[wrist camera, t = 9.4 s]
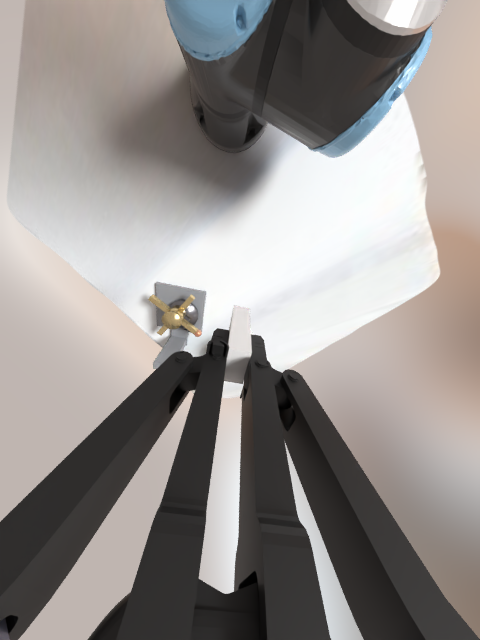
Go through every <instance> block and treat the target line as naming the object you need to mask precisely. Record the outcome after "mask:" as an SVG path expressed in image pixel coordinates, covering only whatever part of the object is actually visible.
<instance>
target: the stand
mask: <svg viewBox="0 0 480 640" xmlns="http://www.w3.org/2000/svg"><path fill="white" fill-rule="evenodd" d="M191 294H192V295H193V296H194V297H195V299H194V300H193V301H192V302H191V303H192V304H194V305H195V307H196V308H197V310H198V313H199V317H198V320H197V322H196V324H195V325H194V326H195V327H196V328H197V329H199V330H201V332H202V325H203V316H204V307H205V298H206V291H201V290H195V289H190V288H185V287H180V286H175V285H170V284H165V283H160V282H157V283H156V297H157V298H159V299H160V300H161V301H163V302H164V303H165V304H166V305H168V306H170V305H171V304H172V303H173V302H174V301H176V300H187V298H188V297H189V296H190V295H191ZM164 313H165V312H164V311H162V310H161V309H160V308H159V307H157V326H163V323H162V316H163V315H164ZM188 331H189V330H188V329H186V328H178V329H171V337H170V338H169V340H168V341H167V343H166V344H165V346H164V347H163V349H162V350H161V352H160V353H159V355H158V357H157V358H156V359H155V361H154V362H153V368H154V369H157V368H158V367H159V366H160V365H161V364H162V363H163V362H164V361H165V360H166V359H167V358H168V357H169V356H170V355H172V354H173V353H175V352H178V351H183V349H184V347H185V346H186V345H187V336H188Z"/></svg>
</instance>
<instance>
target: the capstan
mask: <svg viewBox="0 0 480 640" xmlns="http://www.w3.org/2000/svg"><path fill="white" fill-rule="evenodd" d="M194 299H195V297H194V296H193V295H192V294H191V295H190V296H189V297H188V298H187V300H176V301H174V302H173V303H172V304H171V305H170V306H168V305H166V304H165V303H164V302H163V301H161V300H160V299H159V298H157V297H156V296H155V295H154V294H153V295H152V296H151V297H150V298H149V299H148V300H149V301H151V302H152V303H153V304H155V305H156V306H157V307H159V308H160V309H161V310H162V311H164V312H165V313H164V315H163V316H162V323H163V326H162V328H161V329H160V330H159V331H158V332H157V333H158V334H160V335H162V334H163V333H164V332H165V331H166V330H167V329H168V328H169V329H178V328H186V329H188V330H189V331H190V332H192V333H193V334H194V335H195V336H196V337H199V336H201V334H202V332H201V330H199V329H197V328H196V327H195V326H194V325H195V324H196V322H197V320H198V317H199V313H198V310H197V308H196V307H195V305H194V304H192V303H191V302H192V301H193V300H194Z"/></svg>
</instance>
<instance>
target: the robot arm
mask: <svg viewBox="0 0 480 640" xmlns="http://www.w3.org/2000/svg"><path fill="white" fill-rule="evenodd" d="M164 1H165V6H166V11H167V15H168V18H169V20H170V24H171V28H172V30H173V32H174V35H175V37H176V39H177V41H178V44H179V46H180V49H181V52H182V54H183V57H184V59H185V62H186V64H187V67H188V70H189V72H190V75H191V76H190V92H191V100H192V105H193V109H194V113H195V115H196V118H197V121H198V123H199V125H200V127H201V129H202V131H203V133H204V134H205V136H206V137H207V138H208V139H209V141H210V142H211V143H212V144H214V145H215V146H216V147H218V148H220V149H221V150H224V151H228V152H239V151H243V150H245V149H247V148H249V147H251V146H252V145H253V144H254V143H255V142H256V141H257V140H258V139H259V138H260V137H261V135H262V134H263V132H264V130H265V128H266V126H267V124H268V123H270V124H272V125H273V126H275V127H276V128H278V129H280V130H281V131H283V132H285V133H286V134H288V135H290V136H291V137H293V138H295V139H296V140H298V141H299V142H301V143H303V144H304V145H306V146H307V147H308V148H309V149H310V150H313V151H318V152H320V153H322V154H324V155H326V156H328V157H332V158H335V157H339V156H342V155H344V154H346V153H347V152H349V151H350V150H352V149H353V148H354V147H355V146H357V145H358V144H359V143H360V142H361V141H362V140H363V139H364V138H365V137H366V136H367V135H368V134H369V133H370V132H371V131H372V130H373V129H374V128H375V127H376V126H377V125H378V124H379V122H380V121H381V120H382V119H383V118H384V117H385V115H386V114H387V113H388V112H389V110H390V109H391V106H392V104H393V102H394V101H395V100H396V99H397V98H398V97H399V96H400V95H401V94H402V93H403V92H404V90H405V89H406V87H407V86H408V84H409V83H410V81H411V80H412V78H413V77H414V75H415V74H416V72H417V70H418V69H419V67H420V65H421V63H422V61H423V60H424V57H425V55H426V53H427V51H428V48H429V45H430V42H431V38H432V31H431V25H432V24H433V22H434V21H435V20H436V19H437V17H438V15H439V14H440V13H441V11H442V10H443V8H444V7H445V4H446V2H447V0H164ZM224 381H228V382H234V383H240V384H243V381H244V386H243V389H242V392H241V396H240V398H242V421H241V462H240V464H241V465H240V502H239V538H238V546H237V553H236V561H235V581H234V592H232V593H230V594H224V593H222V592H220V591H218V590H216V589H215V588H213V587H211V586H210V585H208V584H206V583H205V582H203V581H201V580H200V579H198V577H199V570H200V563H201V555H202V548H203V540H204V532H205V524H206V509H207V500H208V493H209V486H210V478H211V471H212V464H213V456H214V449H215V442H216V435H217V427H218V420H219V413H220V405H221V398H222V391H223V383H224ZM192 390H195V393H194V396H193V399H192V403H191V406H190V409H189V413H188V416H187V419H186V423H185V426H184V429H183V432H182V436H181V439H180V442H179V446H178V449H177V452H176V456H175V459H174V463H173V466H172V469H171V472H170V476H169V479H168V482H167V485H166V489H165V492H164V495H163V499H162V502H161V504H160V507H159V508H158V511H157V513H156V515H155V518H154V520H153V523H152V526H151V530H150V533H149V536H148V539H147V542H146V545H145V549H144V552H143V555H142V559H141V562H140V565H139V568H138V571H137V575H136V578H135V581H134V584H133V588H132V591H131V593H129V594H128V595H127V596H125V597H124V598H123V599H122V600H121V601H120V602H119V603H118V604H117V605H116V606H115V607H114V608H113V609H112V610H111V611H110V612H109V613H108V615H107V616H106V617H105V618H104V619H103V620H102V622H101V623H100V624H99V626H98V627H97V628H96V629H95V631H94V632H93V633H92V635H91V636H90V637H89V639H88V640H331V638H330V635H329V630H328V625H327V621H326V615H325V610H324V605H323V600H322V595H321V591H320V586H319V581H318V576H317V571H316V566H315V561H314V556H313V551H312V547H311V543H310V539H309V536H308V534H307V531H306V529H305V528H304V526H303V525H302V524H301V523H300V521H299V518H298V515H297V511H296V505H295V499H294V494H293V489H292V482H291V476H290V471H289V465H288V460H287V454H286V448H285V443H286V445H287V448H288V450H289V453H290V456H291V458H292V461H293V464H294V466H295V469H296V471H297V474H298V476H299V479H300V481H301V484H302V487H303V489H304V492H305V494H306V497H307V500H308V502H309V505H310V507H311V510H312V513H313V515H314V518H315V520H316V523H317V526H318V528H319V530H320V533H321V536H322V538H323V541H324V544H325V546H326V549H327V552H328V554H329V557H330V559H331V562H332V564H333V567H334V570H335V572H336V575H337V577H338V580H339V582H340V585H341V588H342V590H343V593H344V595H345V598H346V600H347V603H348V605H349V607H350V610H351V612H352V615H353V617H354V619H355V622H356V624H357V626H358V628H359V630H360V632H361V634H362V637H363V639H364V640H480V639H479V638H478V637H477V635H476V634H475V633H474V632H473V631H472V629H471V628H470V627H469V626H468V625H467V623H466V622H465V621H464V620H463V619H462V618H461V616H460V615H459V614H458V613H457V611H456V610H455V609H454V608H453V607H452V605H451V604H450V603H449V602H448V601H447V599H446V598H445V597H444V595H443V594H442V592H441V591H440V589H439V587H438V586H437V584H436V583H435V581H434V580H433V578H432V577H431V575H430V574H429V572H428V570H427V569H426V567H425V566H424V564H423V563H422V561H421V560H420V558H419V556H418V555H417V554H416V552H415V551H414V549H413V547H412V546H411V544H410V543H409V541H408V540H407V538H406V536H405V535H404V533H403V532H402V530H401V529H400V527H399V526H398V524H397V523H396V521H395V519H394V518H393V516H392V515H391V513H390V512H389V510H388V509H387V507H386V505H385V504H384V502H383V501H382V499H381V498H380V496H379V495H378V493H377V492H376V490H375V488H374V487H373V486H372V484H371V482H370V481H369V479H368V478H367V476H366V474H365V473H364V471H363V470H362V468H361V467H360V465H359V464H358V462H357V461H356V459H355V457H354V456H353V454H352V453H351V451H350V450H349V448H348V447H347V445H346V444H345V442H344V441H343V439H342V437H341V436H340V434H339V433H338V432H337V430H336V428H335V426H334V425H333V423H332V422H331V420H330V419H329V417H328V416H327V414H326V413H325V411H324V409H323V408H322V406H321V405H320V403H319V402H318V400H317V399H316V397H315V396H314V394H313V392H312V391H311V389H310V388H309V386H308V385H307V383H306V382H305V380H304V379H303V377H302V376H301V375H300V374H299V373H298V372H296V371H294V370H285V371H284V372H283V373H281V372H279V371H277V370H275V369H273V368H272V367H271V365H270V363H269V362H268V361H267V358H266V351H265V345H264V340H263V339H262V337H261V336H258V335H252V334H251V325H250V309H249V308H244V307H239V306H234V308H233V313H232V318H231V323H230V327H229V330H224V329H219V328H217V329H216V330H215V331H214V333H213V336H212V340H211V341H209V342H208V345H207V352H206V354H205V355H203V356H200V357H193V356H192V355H191V354H190V353H188V352H185V351H178V352H175V353H173V354H172V355H170V356H169V357H168V358H167V359H166V360H165V361H164V362H163V363H162V364H161V365H160V366H159V367H158V368H157V369H156V370H155V371H154V372H153V373H152V374H151V375H150V376H149V377H148V378H147V379H146V380H145V381H144V382H143V383H142V384H141V385H140V386H139V387H138V388H137V389H136V390H135V391H134V392H133V393H132V394H131V395H130V396H129V397H127V398H126V399H125V400H124V401H123V402H122V403H121V404H120V405H119V406H118V407H117V408H116V409H115V410H114V411H113V412H112V413H111V414H110V415H109V416H108V417H107V418H106V419H105V420H104V421H103V422H102V423H101V424H100V425H99V426H98V427H97V428H96V429H95V430H94V431H93V432H92V433H91V434H90V435H89V436H88V437H87V438H86V439H85V440H83V442H82V443H80V445H78V446H77V447H76V448H75V449H74V450H73V451H72V452H71V453H70V454H69V455H68V456H67V457H66V458H65V459H64V460H63V461H62V462H61V463H60V464H59V465H58V466H57V467H56V468H55V469H54V470H53V471H52V472H51V473H50V474H49V475H48V476H47V477H46V478H45V479H44V480H43V481H42V482H41V483H40V484H38V485H37V486H36V488H34V489H33V490H32V491H31V492H30V493H29V494H28V495H27V496H26V497H25V498H24V499H23V500H22V501H21V502H20V503H19V504H18V505H17V506H16V507H15V508H14V509H13V510H12V511H11V512H10V513H9V514H8V515H7V516H6V517H5V518H4V519H3V520H2V521H1V522H0V640H18V639H19V638H20V637H21V635H22V634H23V633H24V632H25V631H26V630H27V628H28V627H29V626H30V624H31V623H32V622H33V621H34V619H35V618H36V617H37V616H38V614H39V613H40V611H41V610H42V609H43V608H44V607H45V605H46V604H47V603H48V602H49V600H50V599H51V598H52V596H53V595H54V593H55V592H56V590H57V589H58V587H59V586H60V585H61V583H62V582H63V580H64V579H65V578H66V576H67V575H68V573H69V572H70V571H71V569H72V568H73V566H74V565H75V563H76V562H77V560H78V558H79V557H80V555H81V554H82V553H83V551H84V550H85V548H86V547H87V545H88V544H89V542H90V541H91V539H92V538H93V536H94V535H95V533H96V532H97V530H98V528H99V527H100V525H101V524H102V522H103V521H104V519H105V518H106V516H107V515H108V513H109V512H110V510H111V509H112V507H113V506H114V504H115V503H116V501H117V500H118V498H119V497H120V495H121V494H122V492H123V491H124V489H125V488H126V486H127V485H128V483H129V482H130V480H131V479H132V477H133V476H134V474H135V473H136V471H137V470H138V468H139V467H140V465H141V464H142V462H143V461H144V459H145V458H146V456H147V455H148V453H149V452H150V450H151V449H152V447H153V445H154V444H155V443H156V441H157V440H158V438H159V436H160V435H161V434H162V432H163V430H164V429H165V428H166V426H167V425H168V423H169V422H170V420H171V418H172V417H173V415H174V414H175V412H176V411H177V409H178V408H179V406H180V405H181V403H182V402H183V400H184V399H185V397H186V396H187V394H188V393H189V391H192ZM284 440H285V442H284Z"/></svg>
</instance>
